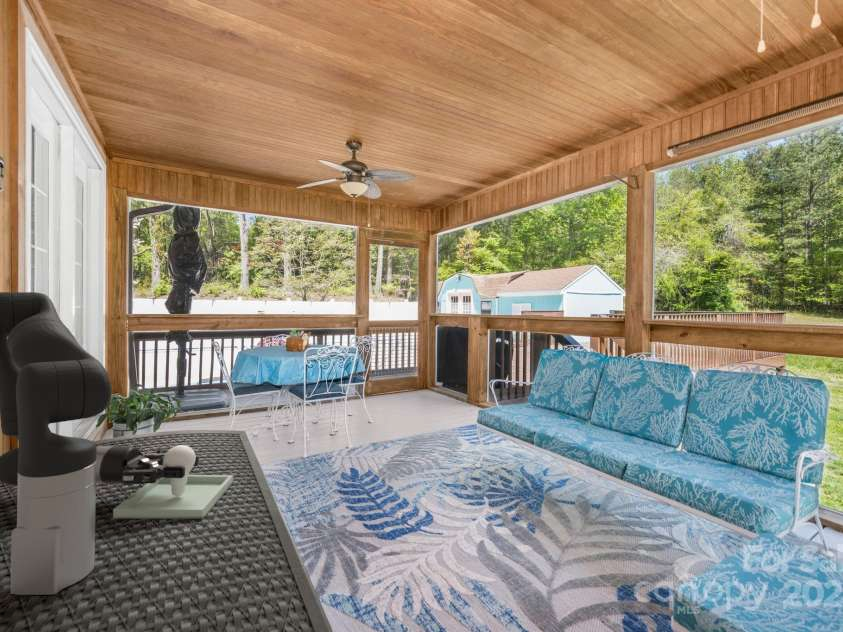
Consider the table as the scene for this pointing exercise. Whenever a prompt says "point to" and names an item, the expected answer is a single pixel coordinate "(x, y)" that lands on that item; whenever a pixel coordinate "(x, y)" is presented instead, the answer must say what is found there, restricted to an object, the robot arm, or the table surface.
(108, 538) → the table surface
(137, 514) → the parts tray
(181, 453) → the lightbulb
